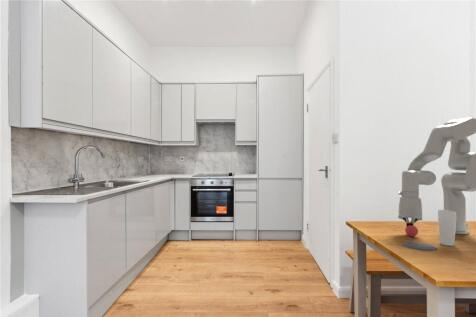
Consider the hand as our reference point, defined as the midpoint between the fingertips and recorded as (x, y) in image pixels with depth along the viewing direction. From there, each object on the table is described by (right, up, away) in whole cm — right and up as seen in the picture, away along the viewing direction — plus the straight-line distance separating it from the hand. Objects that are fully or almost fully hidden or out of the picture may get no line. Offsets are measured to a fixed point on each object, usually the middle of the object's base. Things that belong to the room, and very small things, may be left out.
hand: (409, 230), depth 151 cm
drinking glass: (+6, -2, -19) cm, 20 cm away
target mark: (-9, -1, -22) cm, 24 cm away
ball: (-2, +1, -4) cm, 5 cm away
